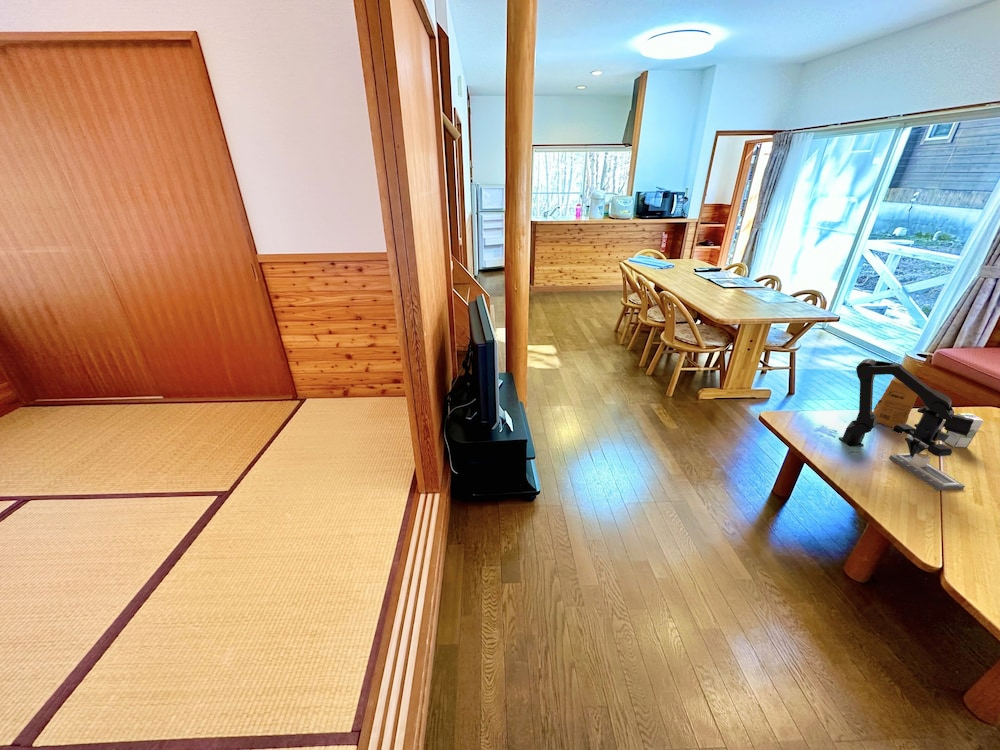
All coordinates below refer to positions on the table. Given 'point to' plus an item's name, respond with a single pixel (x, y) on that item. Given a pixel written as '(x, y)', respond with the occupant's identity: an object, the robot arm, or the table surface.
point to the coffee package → (895, 404)
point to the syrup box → (962, 440)
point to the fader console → (927, 473)
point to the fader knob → (921, 459)
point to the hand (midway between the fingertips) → (912, 456)
